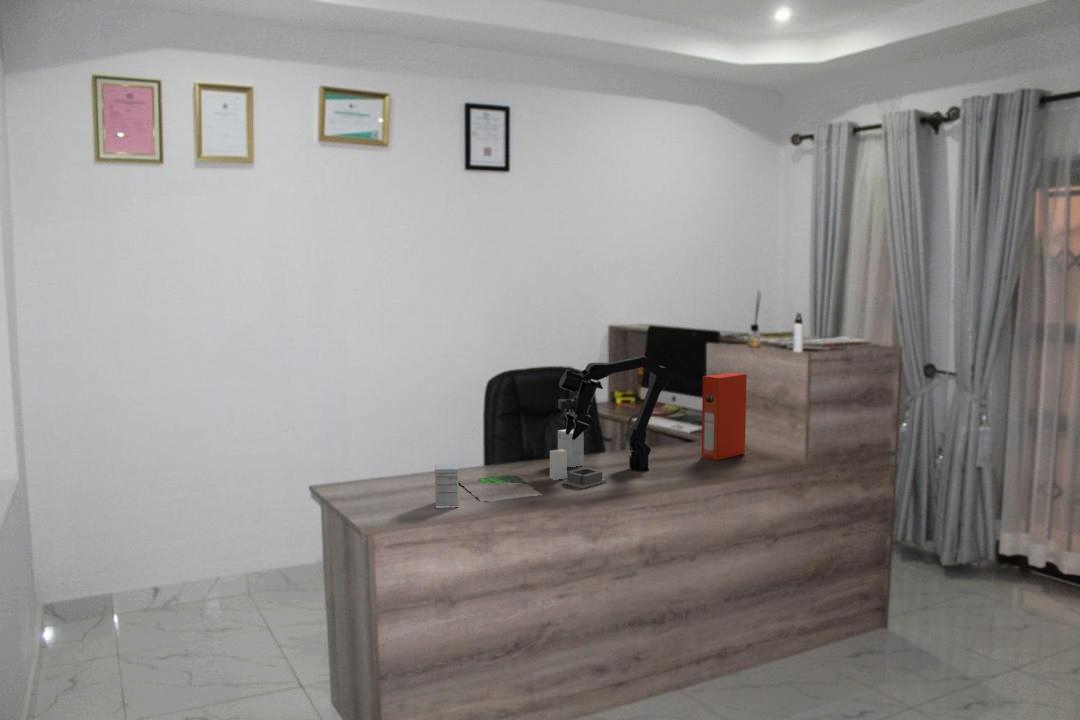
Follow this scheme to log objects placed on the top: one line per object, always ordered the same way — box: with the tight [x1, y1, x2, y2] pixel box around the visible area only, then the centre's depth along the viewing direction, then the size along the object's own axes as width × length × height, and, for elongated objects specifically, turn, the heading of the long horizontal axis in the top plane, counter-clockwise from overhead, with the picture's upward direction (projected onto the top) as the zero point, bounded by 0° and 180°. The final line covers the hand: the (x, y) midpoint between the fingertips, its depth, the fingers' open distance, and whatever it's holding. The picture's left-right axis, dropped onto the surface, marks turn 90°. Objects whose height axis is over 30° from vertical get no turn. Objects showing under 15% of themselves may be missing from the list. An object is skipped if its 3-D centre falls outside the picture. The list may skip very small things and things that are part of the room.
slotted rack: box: [562, 467, 607, 489], centre depth 298 cm, size 12×9×4 cm
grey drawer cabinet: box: [434, 463, 460, 507], centre depth 271 cm, size 7×7×13 cm
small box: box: [557, 428, 585, 469], centre depth 324 cm, size 8×6×13 cm
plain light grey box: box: [549, 449, 568, 481], centre depth 304 cm, size 5×4×10 cm
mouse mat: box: [478, 475, 531, 486], centre depth 291 cm, size 27×22×1 cm
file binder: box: [701, 372, 747, 461], centre depth 338 cm, size 8×17×32 cm, turn 130°
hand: (569, 436), depth 311 cm, fingers open, 9 cm apart
